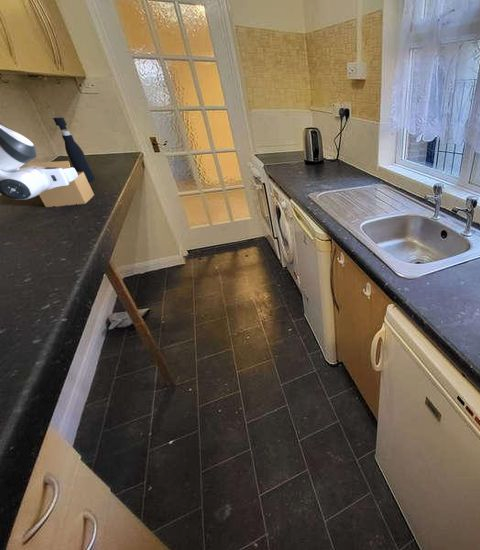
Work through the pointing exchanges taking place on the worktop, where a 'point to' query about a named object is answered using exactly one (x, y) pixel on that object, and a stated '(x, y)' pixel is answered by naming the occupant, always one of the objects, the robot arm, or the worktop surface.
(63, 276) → the worktop surface
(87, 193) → the carton
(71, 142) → the folded umbrella
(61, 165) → the carton flap
